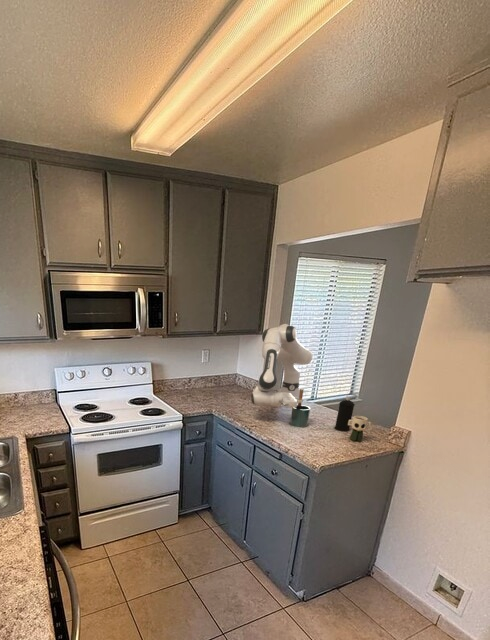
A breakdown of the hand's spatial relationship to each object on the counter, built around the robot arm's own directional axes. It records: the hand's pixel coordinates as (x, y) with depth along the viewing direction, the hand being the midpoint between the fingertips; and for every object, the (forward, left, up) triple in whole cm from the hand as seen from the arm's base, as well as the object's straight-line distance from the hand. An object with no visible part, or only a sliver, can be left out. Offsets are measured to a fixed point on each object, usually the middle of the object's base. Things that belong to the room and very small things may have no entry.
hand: (301, 400), depth 217 cm
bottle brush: (0, -1, -9) cm, 9 cm away
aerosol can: (+6, +24, -15) cm, 29 cm away
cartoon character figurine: (+23, +26, -15) cm, 38 cm away
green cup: (+1, 0, -15) cm, 15 cm away
